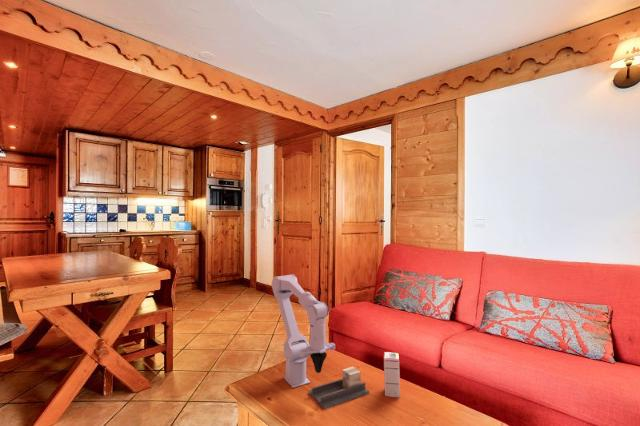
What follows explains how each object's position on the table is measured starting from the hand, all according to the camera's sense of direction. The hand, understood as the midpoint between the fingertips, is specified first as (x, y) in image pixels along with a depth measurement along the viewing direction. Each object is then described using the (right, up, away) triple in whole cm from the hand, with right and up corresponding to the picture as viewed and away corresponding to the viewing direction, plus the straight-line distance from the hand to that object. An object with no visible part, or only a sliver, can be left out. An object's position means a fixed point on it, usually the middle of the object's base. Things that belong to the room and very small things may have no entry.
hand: (318, 371), depth 119 cm
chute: (+8, -9, +2) cm, 13 cm away
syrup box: (+29, -10, +2) cm, 30 cm away
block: (+13, -8, +5) cm, 16 cm away
